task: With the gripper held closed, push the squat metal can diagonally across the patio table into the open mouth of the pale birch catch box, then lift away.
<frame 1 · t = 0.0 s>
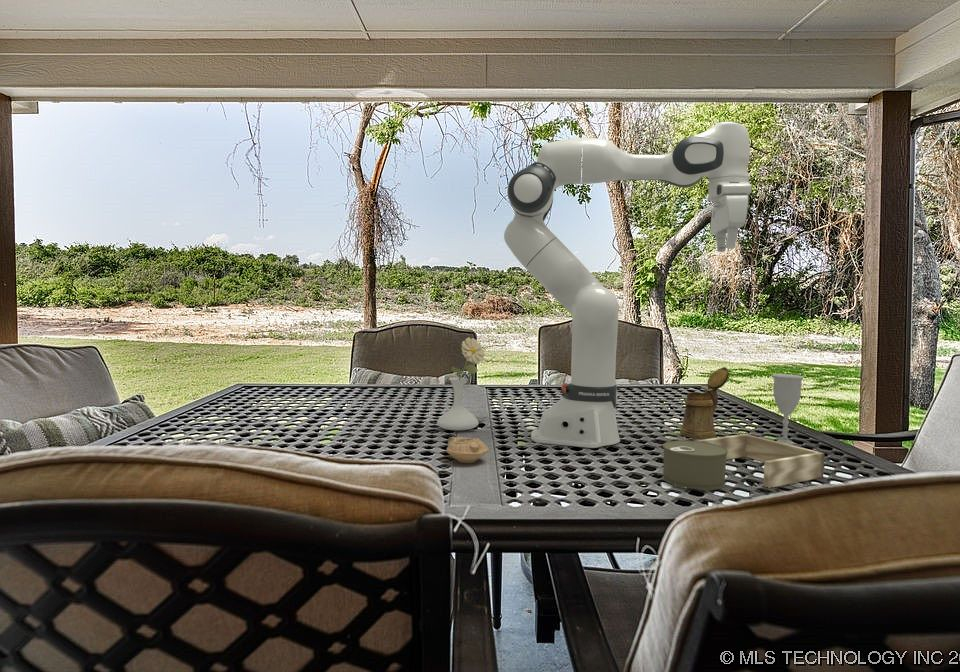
hand: (725, 250, 145), 48 cm above the table, fingers open, 8 cm apart
wooden mug: (704, 435, 161), on the table
flower in vase: (460, 429, 164), on the table
can: (693, 482, 119), on the table
chalice: (784, 450, 146), on the table
catch box: (754, 470, 128), on the table
pottery oil lamp: (464, 460, 133), on the table
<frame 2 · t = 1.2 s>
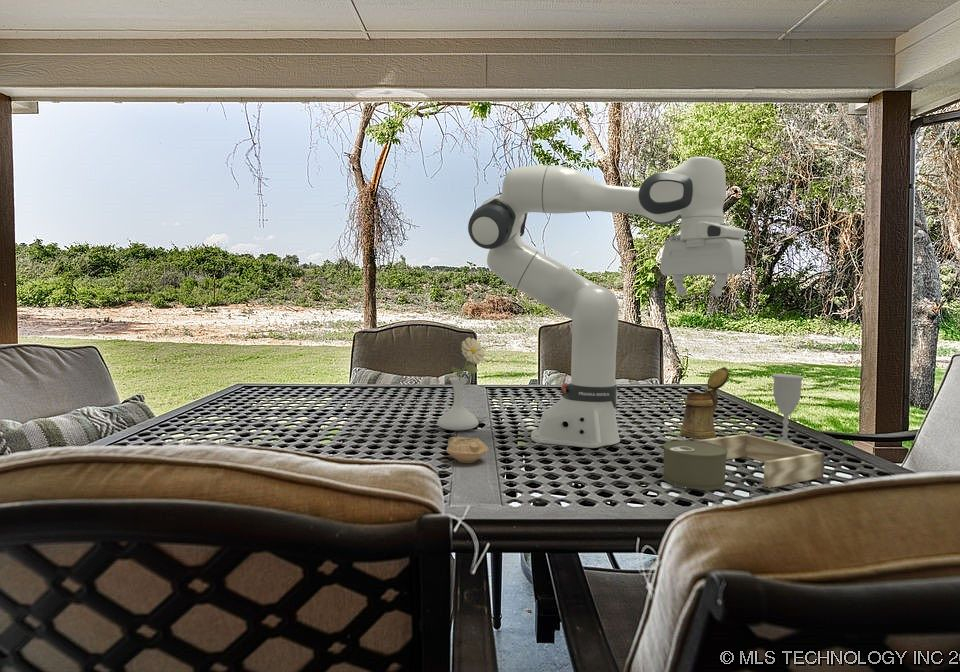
hand: (698, 295, 132), 37 cm above the table, fingers open, 8 cm apart
nothing on the table moved.
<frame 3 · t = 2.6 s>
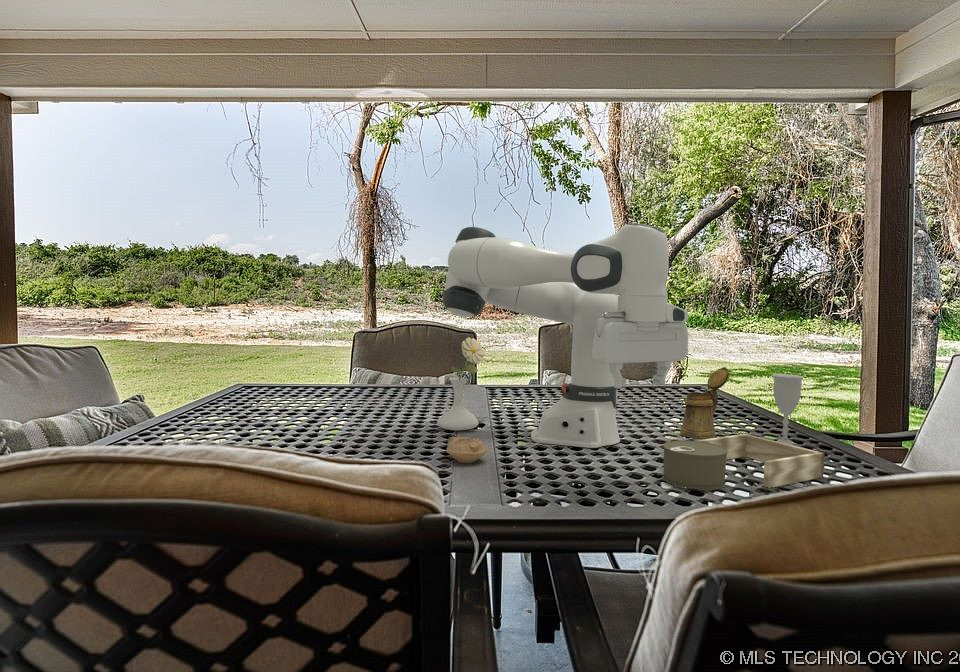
hand: (639, 386, 112), 20 cm above the table, fingers open, 8 cm apart
nothing on the table moved.
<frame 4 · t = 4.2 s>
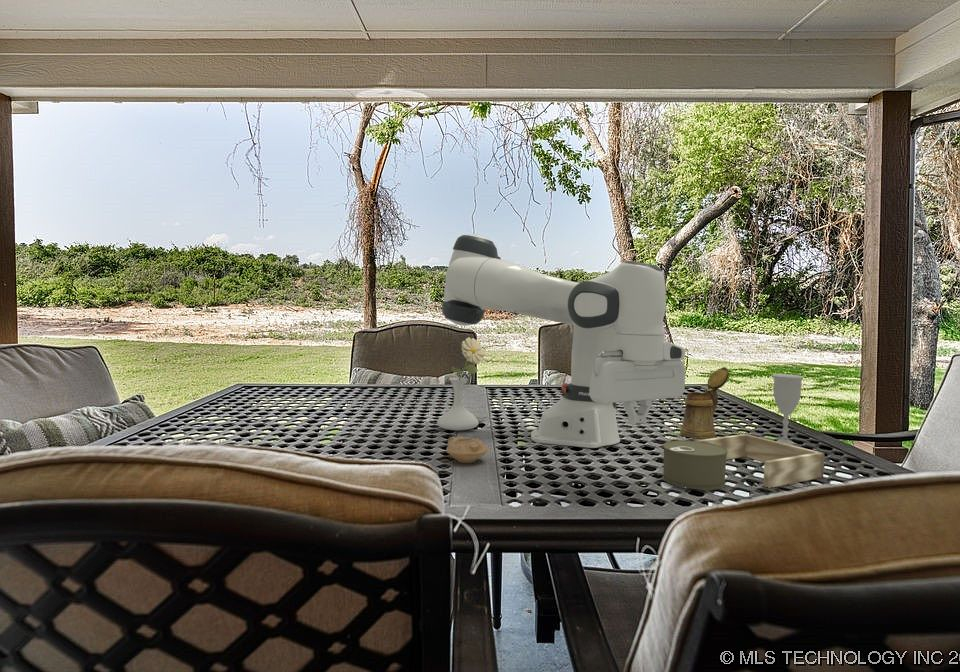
hand: (636, 424, 112), 13 cm above the table, fingers closed
nothing on the table moved.
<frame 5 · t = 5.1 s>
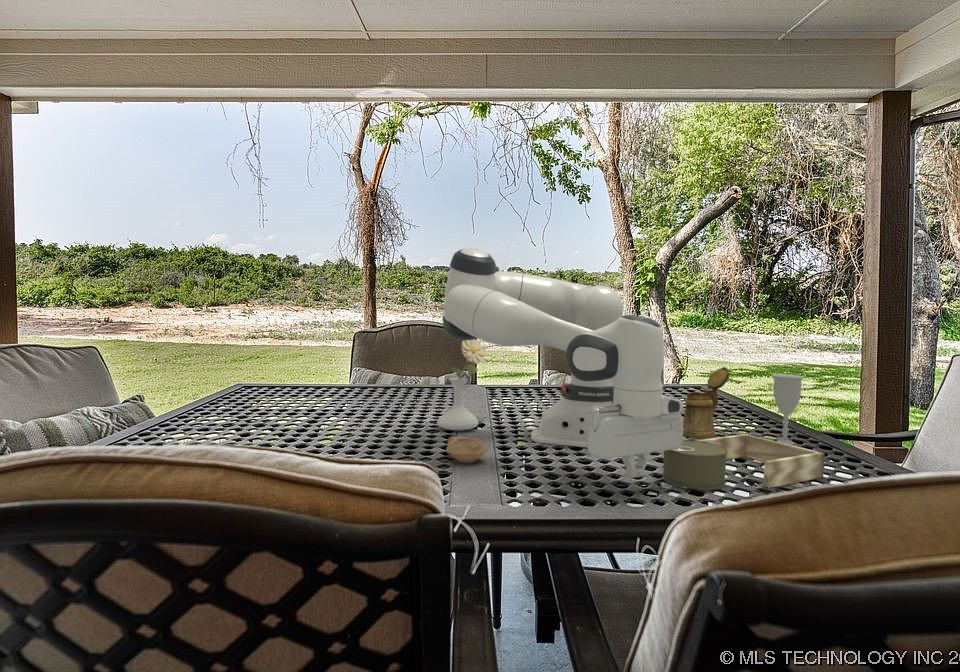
hand: (635, 476, 112), 3 cm above the table, fingers closed
nothing on the table moved.
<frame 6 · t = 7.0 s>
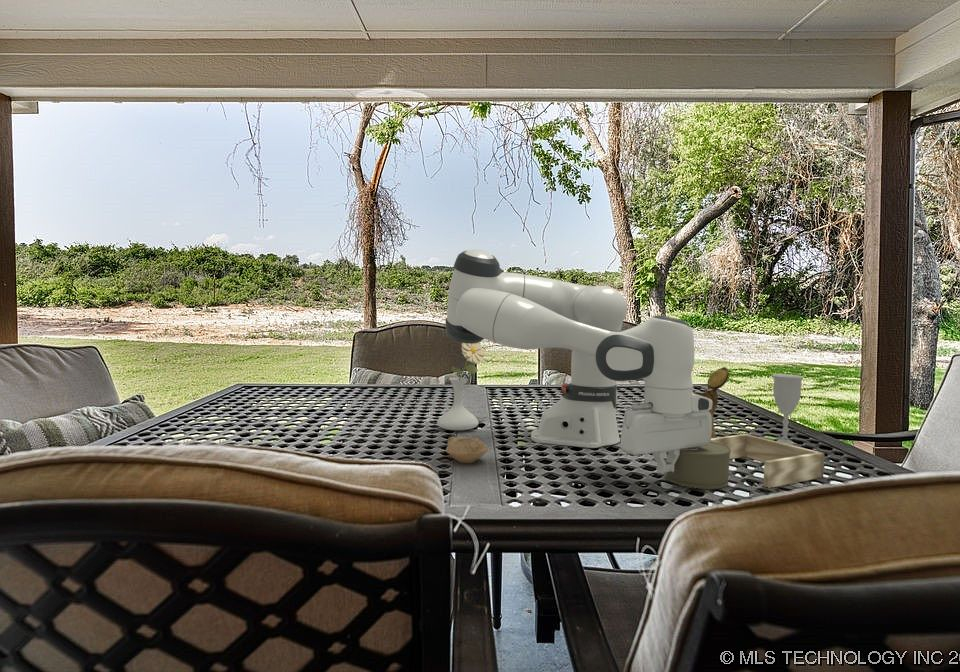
hand: (665, 472, 116), 3 cm above the table, fingers closed
can: (696, 481, 120), on the table, touching gripper
everything else where it was.
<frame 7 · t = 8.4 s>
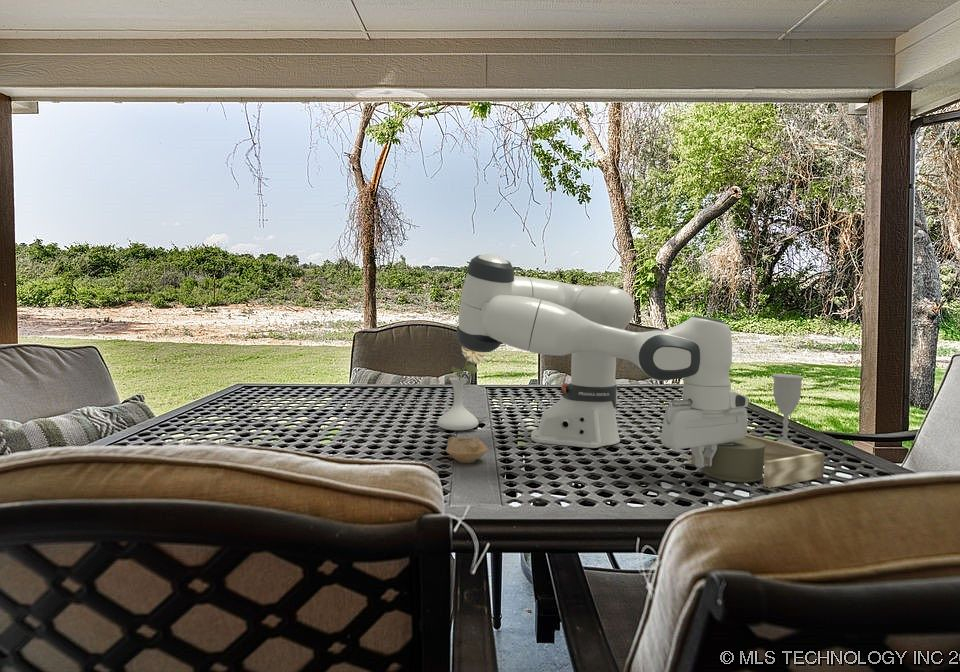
hand: (703, 466, 120), 3 cm above the table, fingers closed
can: (731, 475, 125), on the table, touching gripper
everything else where it was.
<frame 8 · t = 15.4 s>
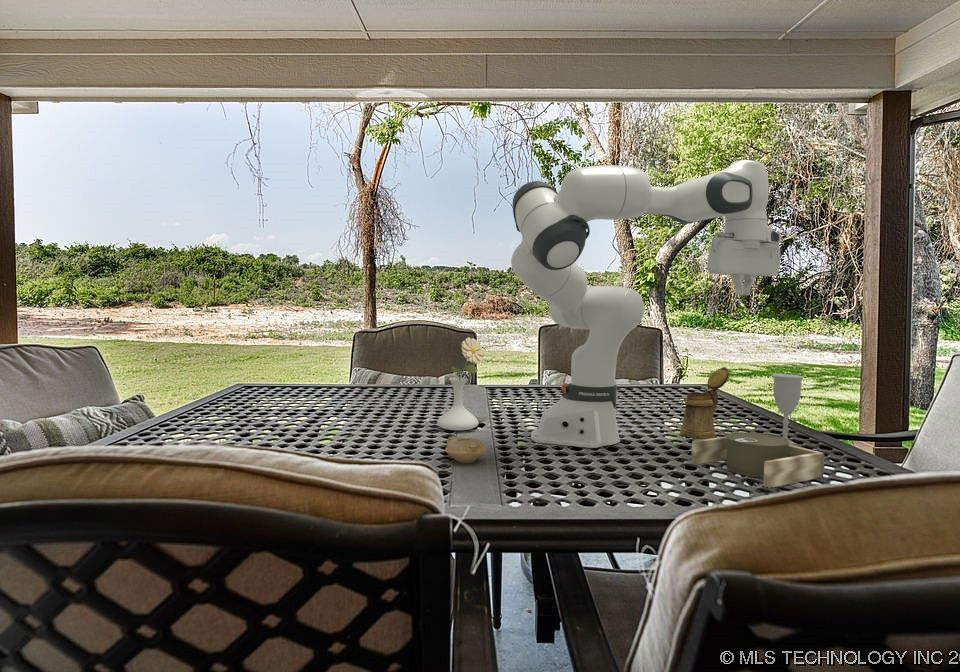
hand: (742, 295, 138), 37 cm above the table, fingers closed
can: (755, 471, 128), on the table
everything else where it was.
at the end: can 0.3 cm from the catch box (horizontally); can tilted 0°; can moved 18.3 cm from its start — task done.
